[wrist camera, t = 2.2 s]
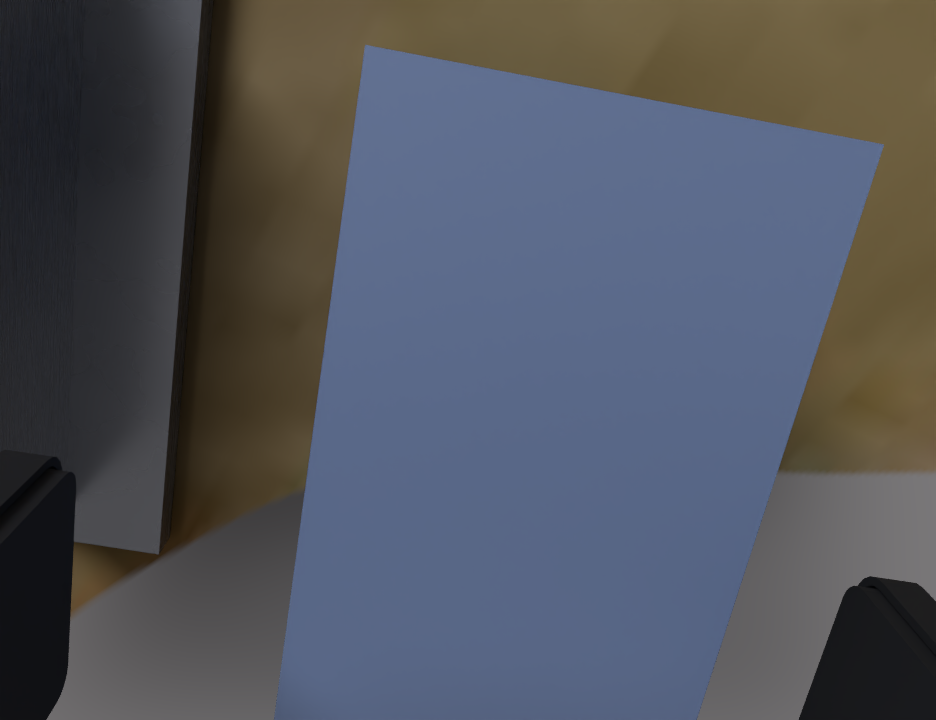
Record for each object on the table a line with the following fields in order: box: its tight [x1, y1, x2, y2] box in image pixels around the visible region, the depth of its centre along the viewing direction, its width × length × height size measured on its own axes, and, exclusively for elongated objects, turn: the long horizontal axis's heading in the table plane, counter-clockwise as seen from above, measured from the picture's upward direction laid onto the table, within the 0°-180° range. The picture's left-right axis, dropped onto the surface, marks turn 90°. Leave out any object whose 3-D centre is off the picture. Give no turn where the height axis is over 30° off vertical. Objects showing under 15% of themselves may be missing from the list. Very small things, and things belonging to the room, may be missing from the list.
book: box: [274, 45, 884, 720], centre depth 17 cm, size 5×12×15 cm, turn 170°
